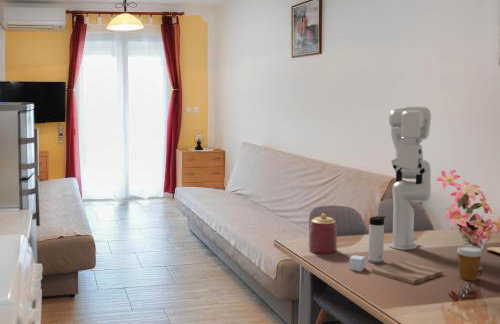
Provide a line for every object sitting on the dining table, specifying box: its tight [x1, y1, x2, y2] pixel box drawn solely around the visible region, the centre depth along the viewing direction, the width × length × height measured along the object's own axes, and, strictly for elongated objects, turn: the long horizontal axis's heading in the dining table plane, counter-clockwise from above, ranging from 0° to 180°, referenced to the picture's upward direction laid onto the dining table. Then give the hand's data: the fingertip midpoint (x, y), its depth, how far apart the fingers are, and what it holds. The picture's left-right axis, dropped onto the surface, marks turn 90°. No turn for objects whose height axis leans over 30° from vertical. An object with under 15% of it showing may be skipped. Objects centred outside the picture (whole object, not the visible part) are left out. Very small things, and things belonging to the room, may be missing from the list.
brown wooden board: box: [371, 259, 444, 285], centre depth 242 cm, size 20×20×2 cm
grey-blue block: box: [348, 255, 366, 272], centre depth 248 cm, size 5×5×5 cm
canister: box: [308, 213, 338, 255], centre depth 276 cm, size 13×13×18 cm
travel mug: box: [367, 215, 386, 264], centre depth 258 cm, size 6×7×20 cm
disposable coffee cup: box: [456, 245, 483, 281], centre depth 236 cm, size 10×10×12 cm
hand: (408, 182), depth 245 cm, fingers open, 9 cm apart
